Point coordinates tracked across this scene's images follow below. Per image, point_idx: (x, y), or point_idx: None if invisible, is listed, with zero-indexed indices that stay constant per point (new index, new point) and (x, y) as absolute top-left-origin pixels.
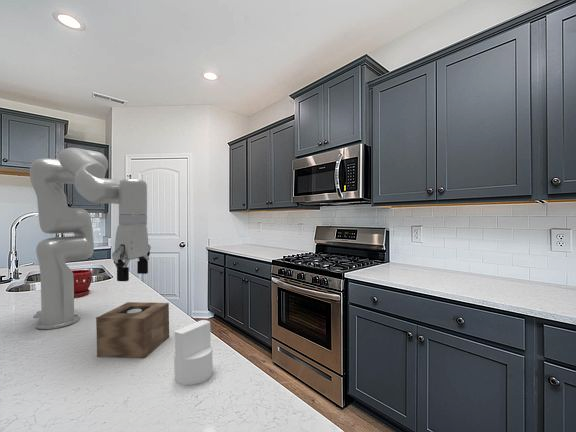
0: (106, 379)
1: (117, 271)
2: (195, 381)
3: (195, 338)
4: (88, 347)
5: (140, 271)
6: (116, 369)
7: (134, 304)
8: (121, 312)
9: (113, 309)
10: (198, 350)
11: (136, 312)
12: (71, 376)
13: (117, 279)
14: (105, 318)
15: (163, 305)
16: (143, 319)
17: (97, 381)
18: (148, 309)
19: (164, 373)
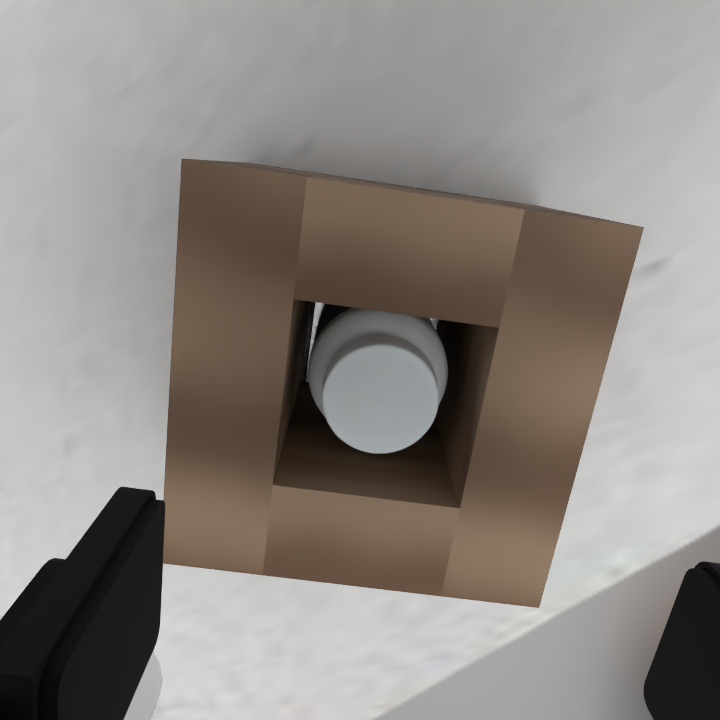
0: (23, 348)
1: (40, 602)
2: None
3: None
4: (380, 18)
5: (687, 637)
6: (112, 349)
7: (546, 335)
8: (350, 304)
9: (410, 200)
10: None
11: (337, 434)
12: (34, 152)
13: (116, 500)
14: (179, 251)
15: (468, 592)
16: (163, 555)
17: (3, 316)
18: (376, 515)
19: None
